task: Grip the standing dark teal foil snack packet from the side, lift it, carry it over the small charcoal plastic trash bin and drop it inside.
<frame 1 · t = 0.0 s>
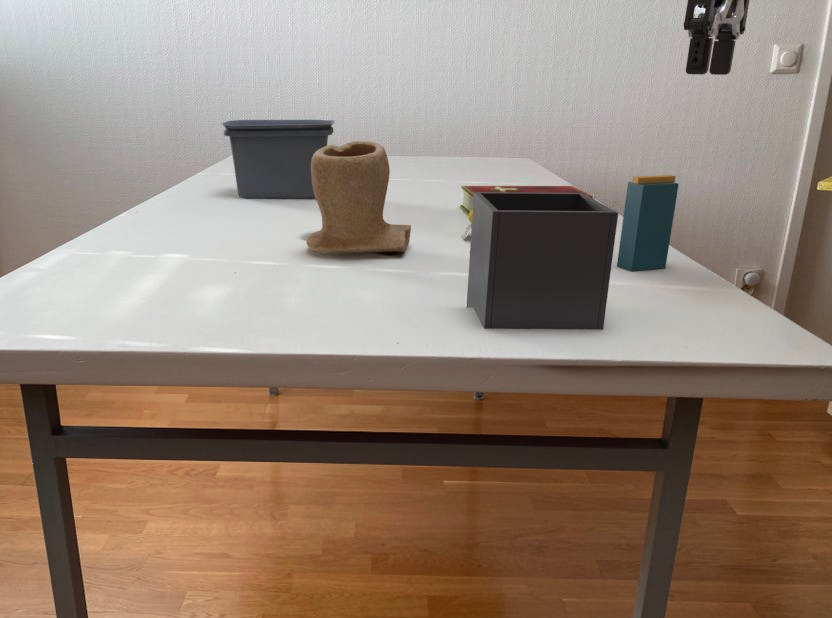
hand: (708, 74, 89), 24 cm above the table, tool pointing down, fingers open, 8 cm apart
storage bin: (281, 195, 157), on the table
hardcover book: (523, 213, 140), on the table
packet: (641, 267, 103), on the table
trash bin: (529, 326, 79), on the table
decorative flower: (493, 236, 121), on the table
stone cup: (360, 254, 109), on the table
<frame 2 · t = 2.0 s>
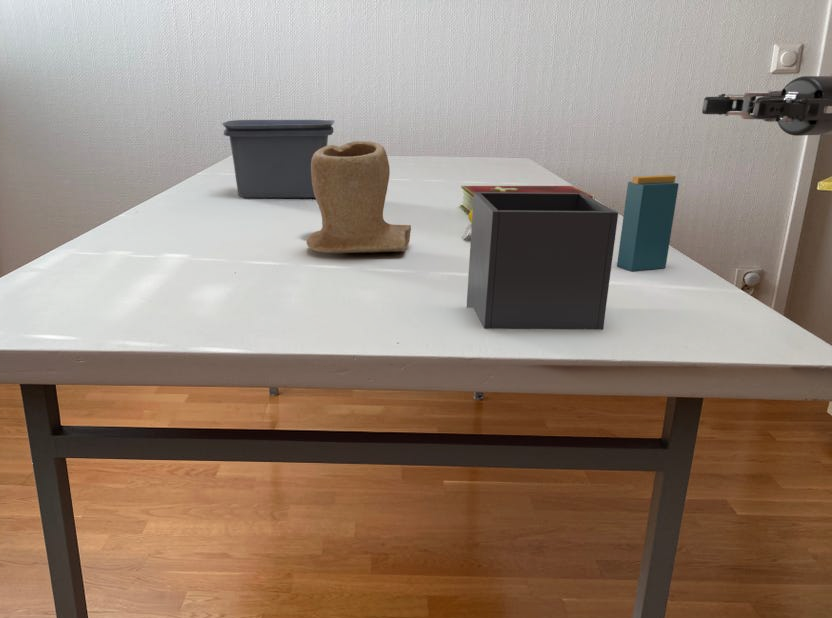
hand: (729, 107, 99), 20 cm above the table, tool horizontal, fingers open, 8 cm apart
nothing on the table moved.
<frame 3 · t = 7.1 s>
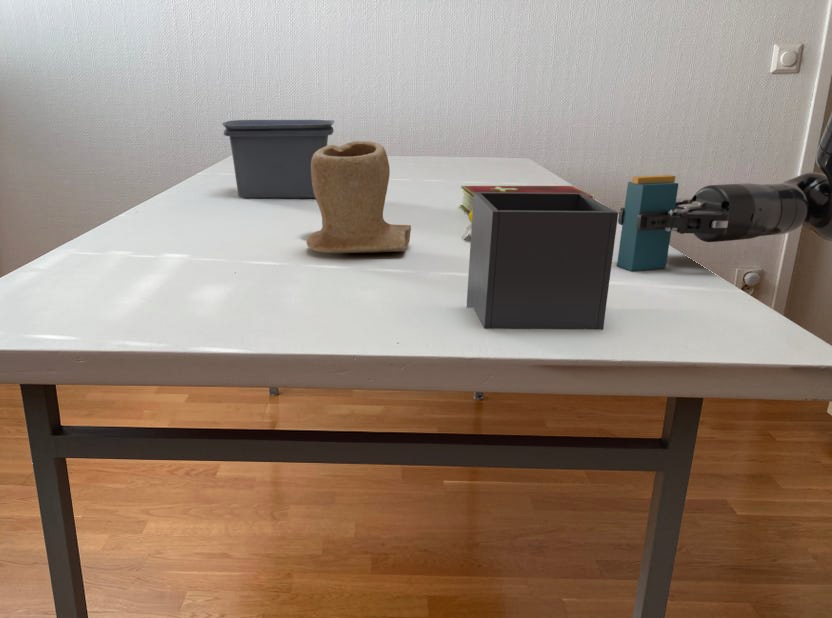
hand: (630, 219, 99), 6 cm above the table, tool horizontal, fingers closed on packet, 3 cm apart
packet: (641, 267, 103), on the table, touching gripper
everything else where it was.
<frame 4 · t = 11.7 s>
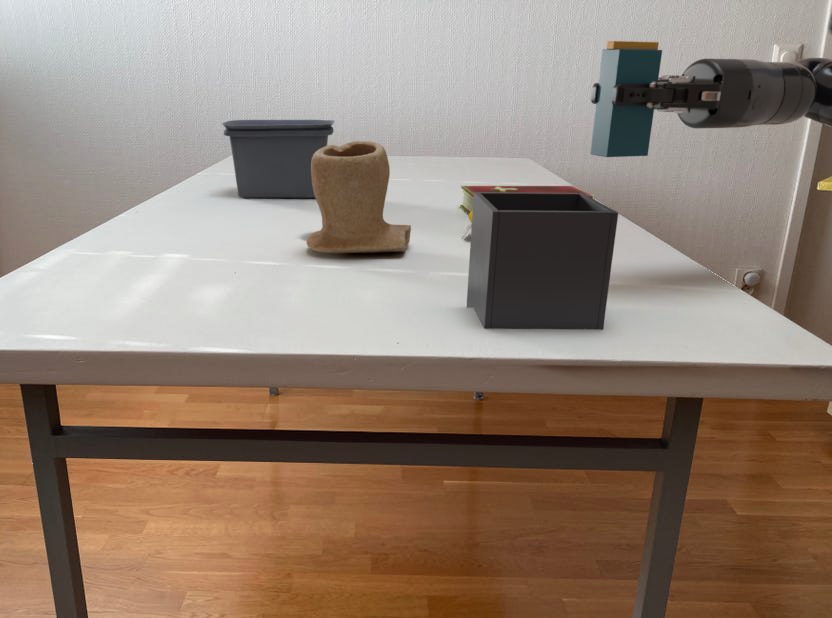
hand: (604, 94, 84), 22 cm above the table, tool horizontal, fingers closed on packet, 3 cm apart
packet: (618, 155, 87), point 15 cm above the table, touching gripper
everything else where it was.
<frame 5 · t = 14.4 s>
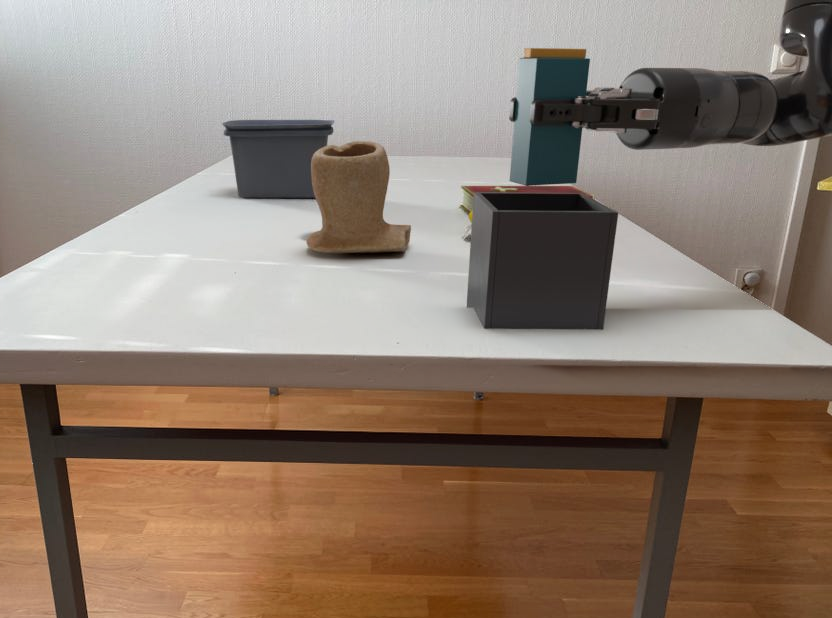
hand: (522, 111, 70), 21 cm above the table, tool horizontal, fingers closed on packet, 3 cm apart
packet: (542, 182, 74), point 14 cm above the table, touching gripper
everything else where it was.
when the fingers open (15 cm above the table, at t = 16.5 s): packet drops 8 cm, resting on trash bin.
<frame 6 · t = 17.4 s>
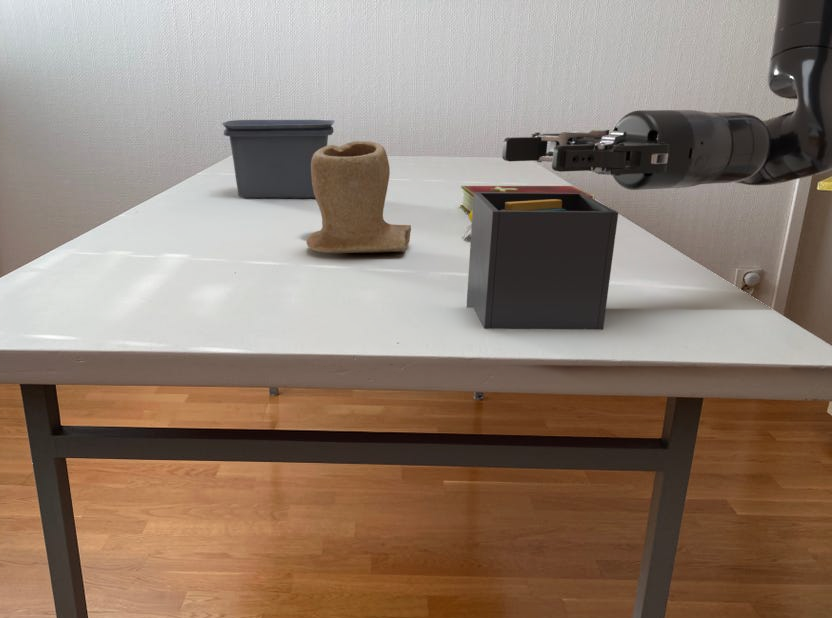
hand: (528, 153, 72), 17 cm above the table, tool horizontal, fingers open, 8 cm apart
packet: (527, 319, 79), point 1 cm above the table, touching trash bin
everything else where it was.
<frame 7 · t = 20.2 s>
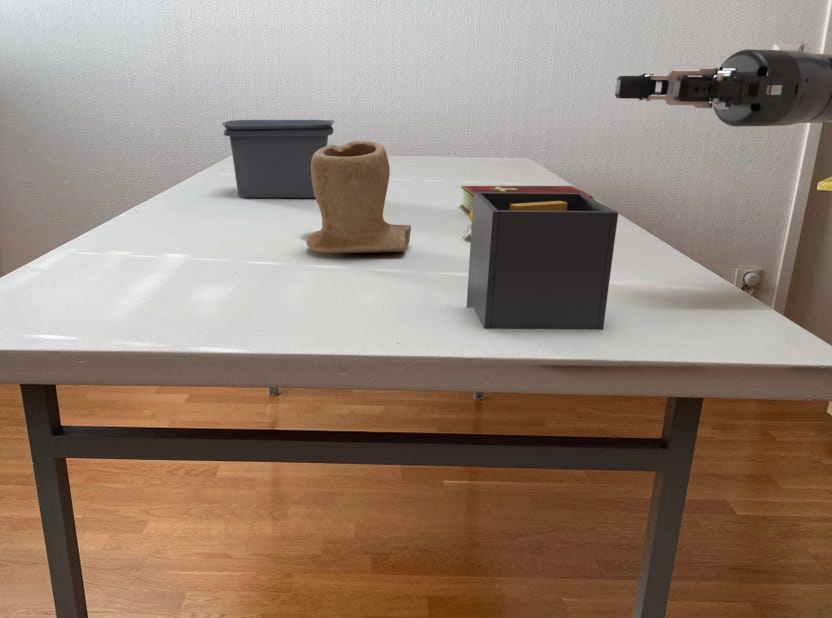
hand: (646, 88, 76), 23 cm above the table, tool horizontal, fingers open, 8 cm apart
nothing on the table moved.
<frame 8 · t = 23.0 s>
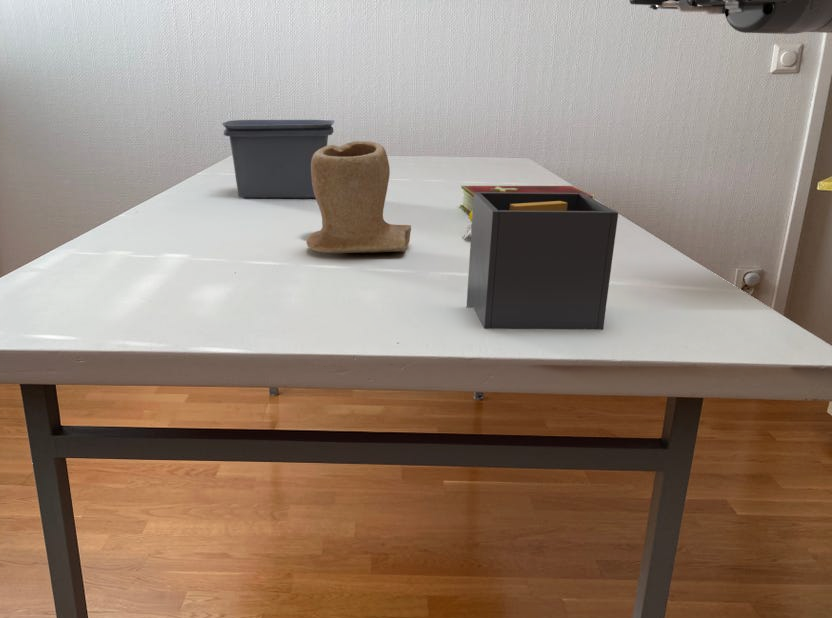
nothing on the table moved.
at the end: packet inside the target area in the trash bin (0.3 cm from its centre), point 0.6 cm above the trash bin's base; the gripper is holding nothing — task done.
